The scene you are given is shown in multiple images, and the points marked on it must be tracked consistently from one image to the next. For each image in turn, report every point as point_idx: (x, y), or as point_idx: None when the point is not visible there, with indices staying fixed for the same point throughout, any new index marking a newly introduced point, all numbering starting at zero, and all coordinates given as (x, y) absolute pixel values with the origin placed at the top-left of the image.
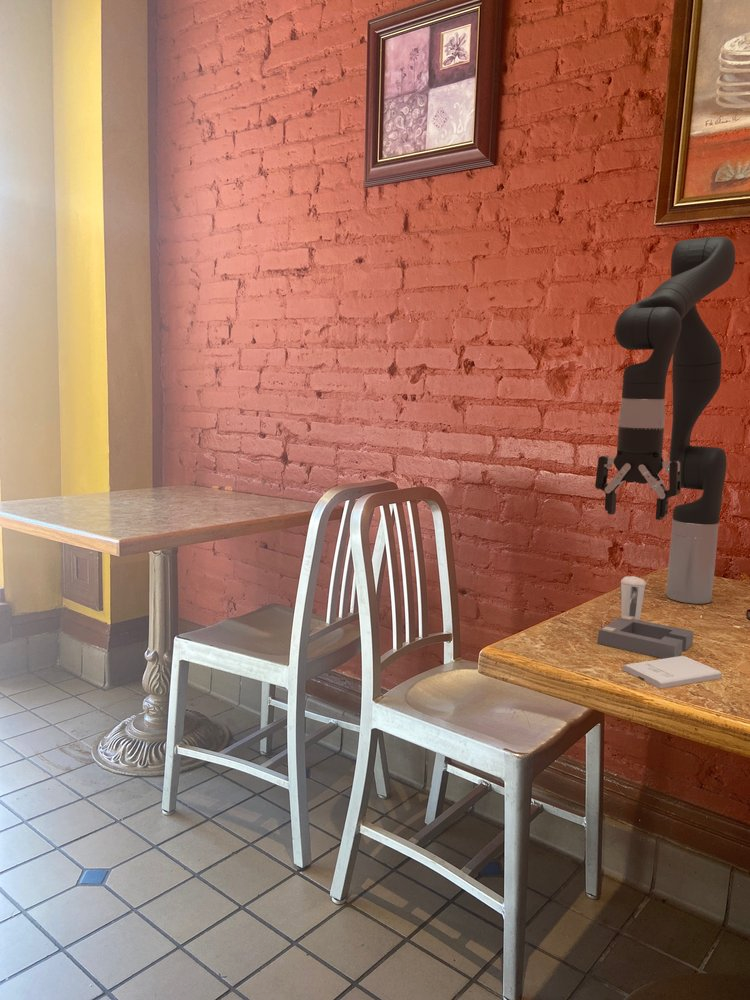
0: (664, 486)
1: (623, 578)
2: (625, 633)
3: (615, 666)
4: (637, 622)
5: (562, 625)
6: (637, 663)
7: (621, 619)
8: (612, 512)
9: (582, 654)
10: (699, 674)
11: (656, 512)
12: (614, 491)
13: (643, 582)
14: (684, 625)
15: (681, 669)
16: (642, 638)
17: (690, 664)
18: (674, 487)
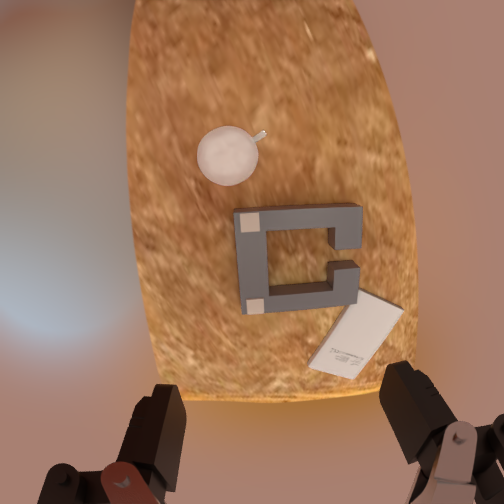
0: (467, 475)
1: (203, 166)
2: (281, 302)
3: (296, 359)
4: (273, 228)
5: (157, 261)
6: (321, 355)
7: (243, 232)
8: (182, 412)
9: (248, 352)
10: (385, 335)
11: (389, 418)
12: (153, 483)
13: (255, 159)
14: (309, 100)
15: (367, 337)
16: (310, 304)
17: (374, 315)
18: (487, 478)
